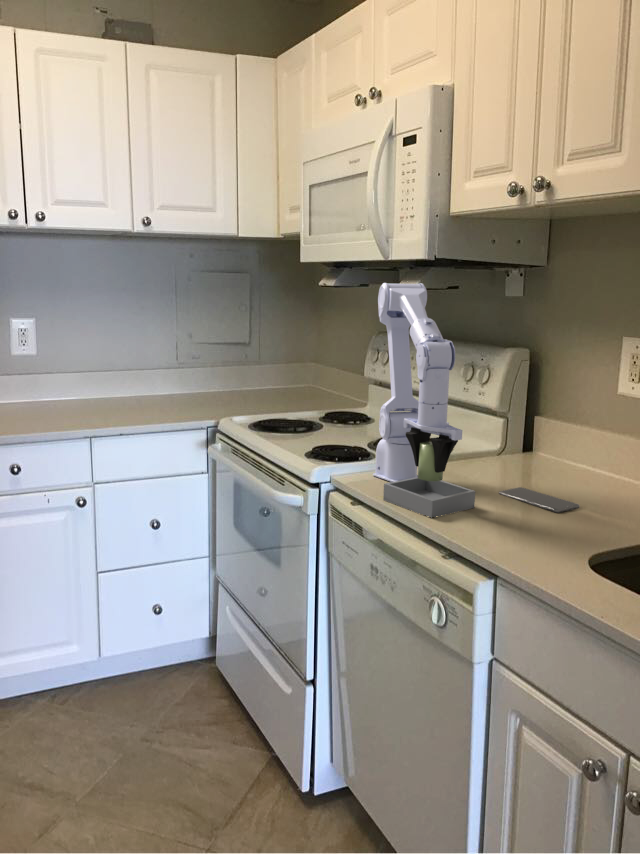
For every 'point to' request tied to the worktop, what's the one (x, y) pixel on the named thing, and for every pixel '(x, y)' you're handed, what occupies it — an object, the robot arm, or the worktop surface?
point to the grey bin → (429, 496)
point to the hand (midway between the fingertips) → (429, 468)
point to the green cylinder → (427, 463)
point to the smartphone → (540, 500)
